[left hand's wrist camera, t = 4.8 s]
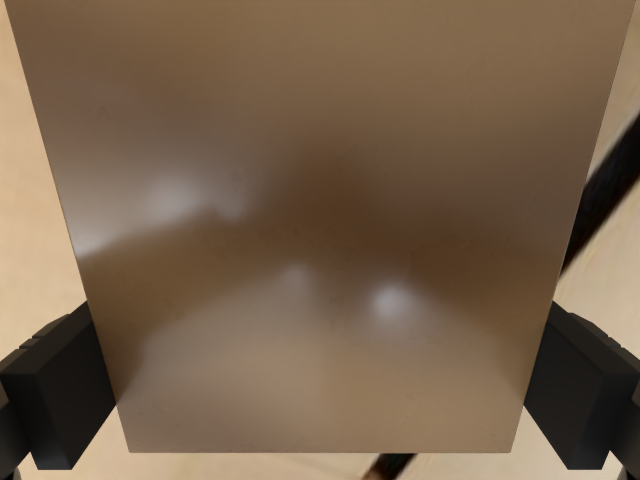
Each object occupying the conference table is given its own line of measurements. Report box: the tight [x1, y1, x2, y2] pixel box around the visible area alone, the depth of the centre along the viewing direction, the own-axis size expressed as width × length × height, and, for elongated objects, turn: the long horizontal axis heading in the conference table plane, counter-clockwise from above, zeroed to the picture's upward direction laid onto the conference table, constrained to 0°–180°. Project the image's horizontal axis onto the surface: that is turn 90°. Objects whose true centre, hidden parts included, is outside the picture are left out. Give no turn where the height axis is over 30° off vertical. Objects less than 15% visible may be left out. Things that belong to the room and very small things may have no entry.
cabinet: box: [4, 0, 635, 453], centre depth 12 cm, size 17×11×11 cm, turn 0°
